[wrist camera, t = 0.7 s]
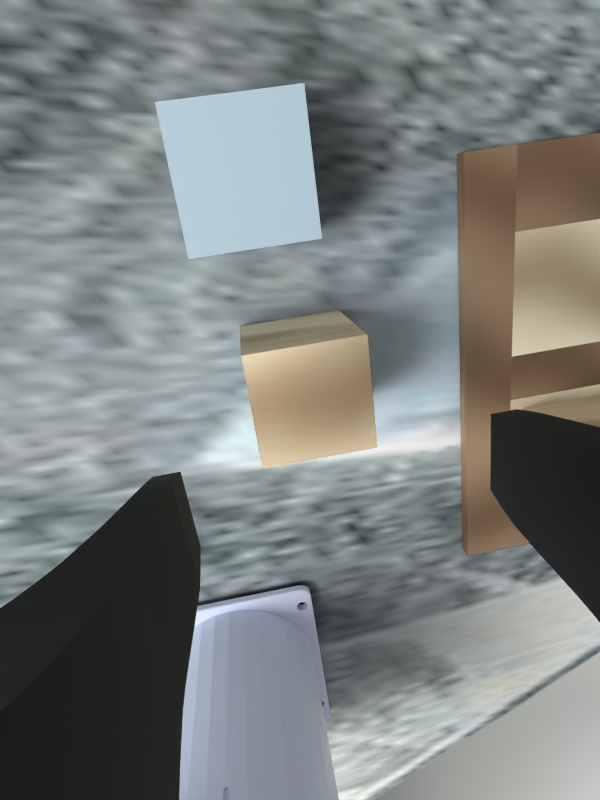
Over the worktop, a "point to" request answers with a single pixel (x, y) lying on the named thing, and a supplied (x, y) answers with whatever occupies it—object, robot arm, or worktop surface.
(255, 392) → the tan wooden cube
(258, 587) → the worktop surface
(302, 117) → the slate grey cube
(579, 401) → the pillar
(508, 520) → the board
